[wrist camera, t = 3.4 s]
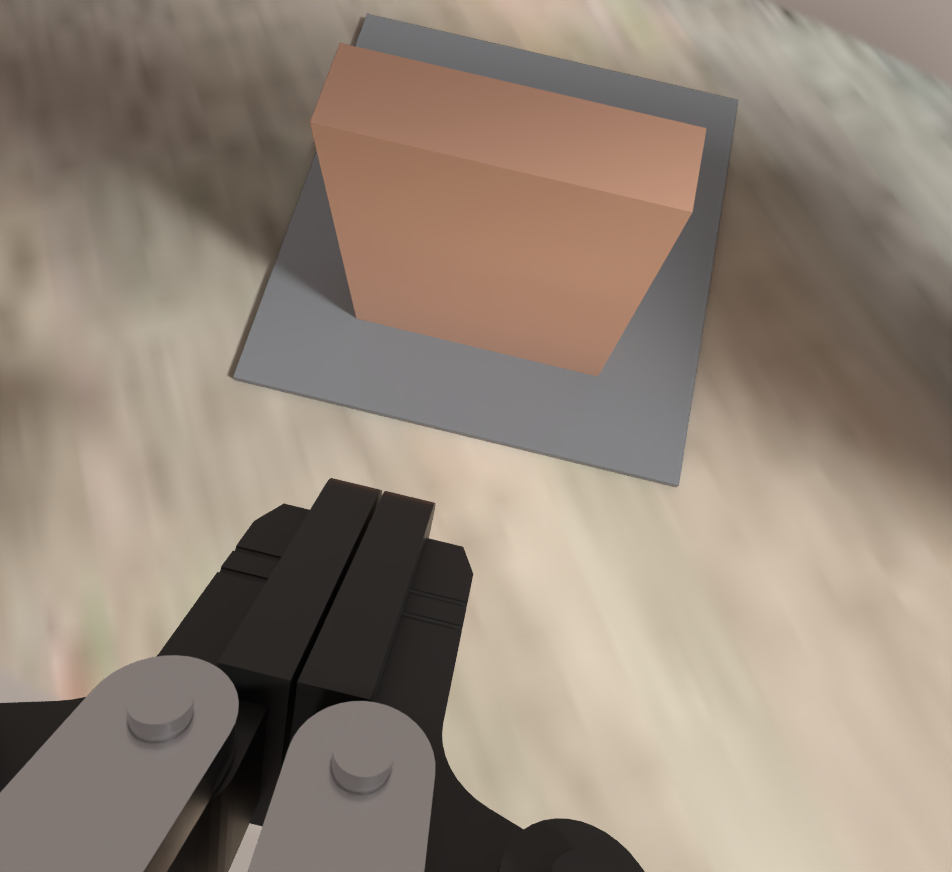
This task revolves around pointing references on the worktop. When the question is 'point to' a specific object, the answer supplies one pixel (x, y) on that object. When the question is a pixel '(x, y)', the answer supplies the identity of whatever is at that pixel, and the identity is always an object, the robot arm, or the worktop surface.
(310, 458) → the worktop surface
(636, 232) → the tile
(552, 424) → the mat
